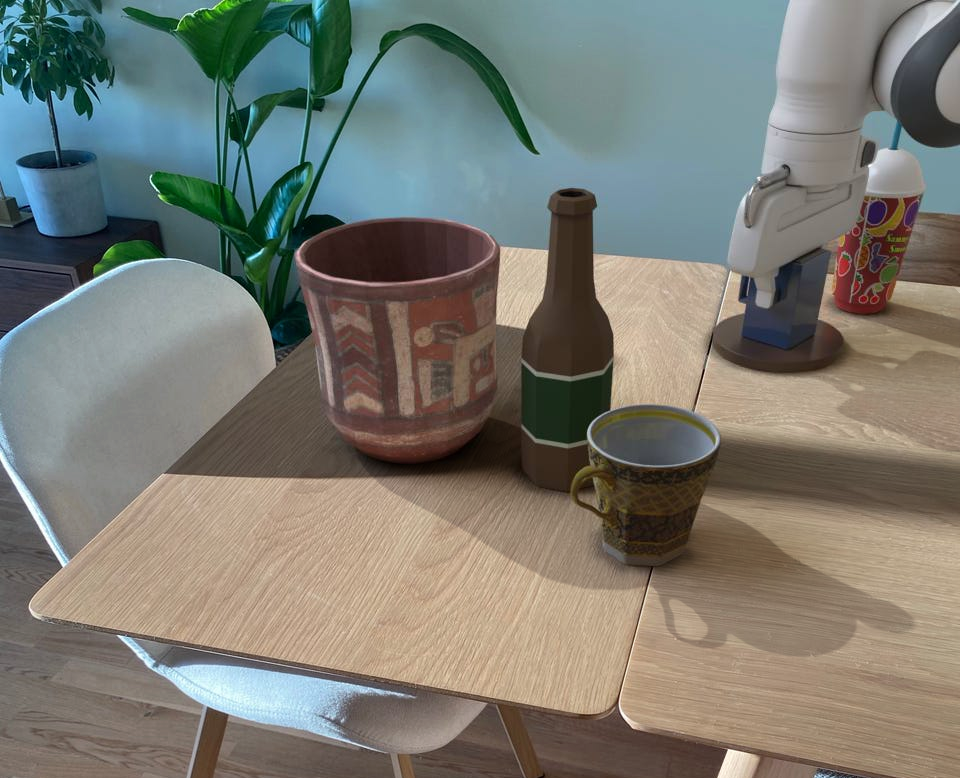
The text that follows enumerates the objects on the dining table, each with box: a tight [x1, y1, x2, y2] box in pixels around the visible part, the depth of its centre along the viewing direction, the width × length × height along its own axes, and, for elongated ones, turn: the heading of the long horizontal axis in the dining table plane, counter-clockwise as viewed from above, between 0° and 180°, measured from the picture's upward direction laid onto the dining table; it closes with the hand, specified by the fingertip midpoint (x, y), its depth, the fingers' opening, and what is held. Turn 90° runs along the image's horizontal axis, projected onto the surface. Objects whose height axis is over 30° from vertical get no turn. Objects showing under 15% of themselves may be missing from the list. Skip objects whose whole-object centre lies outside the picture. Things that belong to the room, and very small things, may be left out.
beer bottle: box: [520, 187, 615, 493], centre depth 81 cm, size 8×8×24 cm
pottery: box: [294, 216, 501, 465], centre depth 89 cm, size 18×18×18 cm
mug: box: [737, 248, 832, 350], centre depth 106 cm, size 8×6×9 cm
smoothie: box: [831, 120, 927, 315], centre depth 110 cm, size 8×8×20 cm
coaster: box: [712, 312, 845, 374], centre depth 108 cm, size 14×14×1 cm
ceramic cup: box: [570, 403, 722, 567], centre depth 76 cm, size 13×10×10 cm
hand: (785, 295), depth 105 cm, fingers open, 6 cm apart
